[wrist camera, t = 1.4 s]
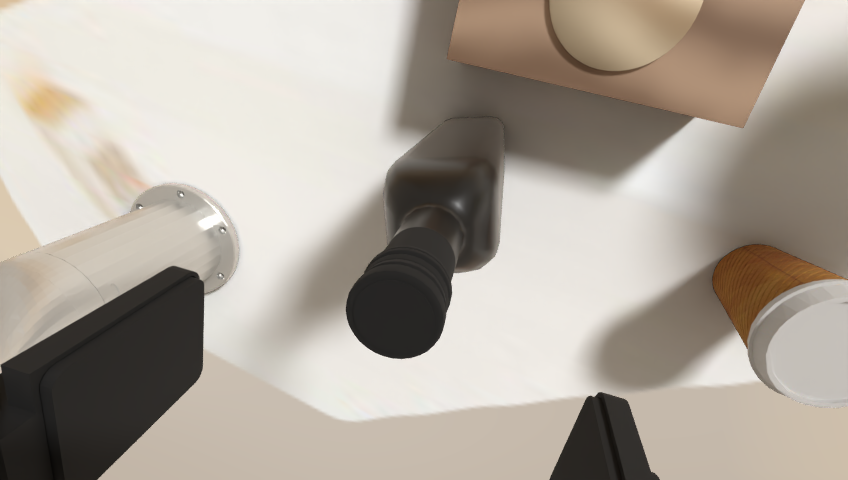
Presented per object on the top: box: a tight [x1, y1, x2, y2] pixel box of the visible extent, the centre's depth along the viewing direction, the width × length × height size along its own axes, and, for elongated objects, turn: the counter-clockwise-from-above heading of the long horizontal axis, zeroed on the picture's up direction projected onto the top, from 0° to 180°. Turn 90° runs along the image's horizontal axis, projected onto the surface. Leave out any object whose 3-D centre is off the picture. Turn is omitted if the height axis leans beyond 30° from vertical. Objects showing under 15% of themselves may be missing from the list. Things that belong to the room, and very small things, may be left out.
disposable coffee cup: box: [712, 244, 848, 408], centre depth 35 cm, size 10×10×12 cm
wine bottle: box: [346, 117, 504, 359], centre depth 27 cm, size 6×6×30 cm
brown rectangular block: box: [447, 0, 805, 128], centre depth 32 cm, size 12×20×8 cm, turn 78°
